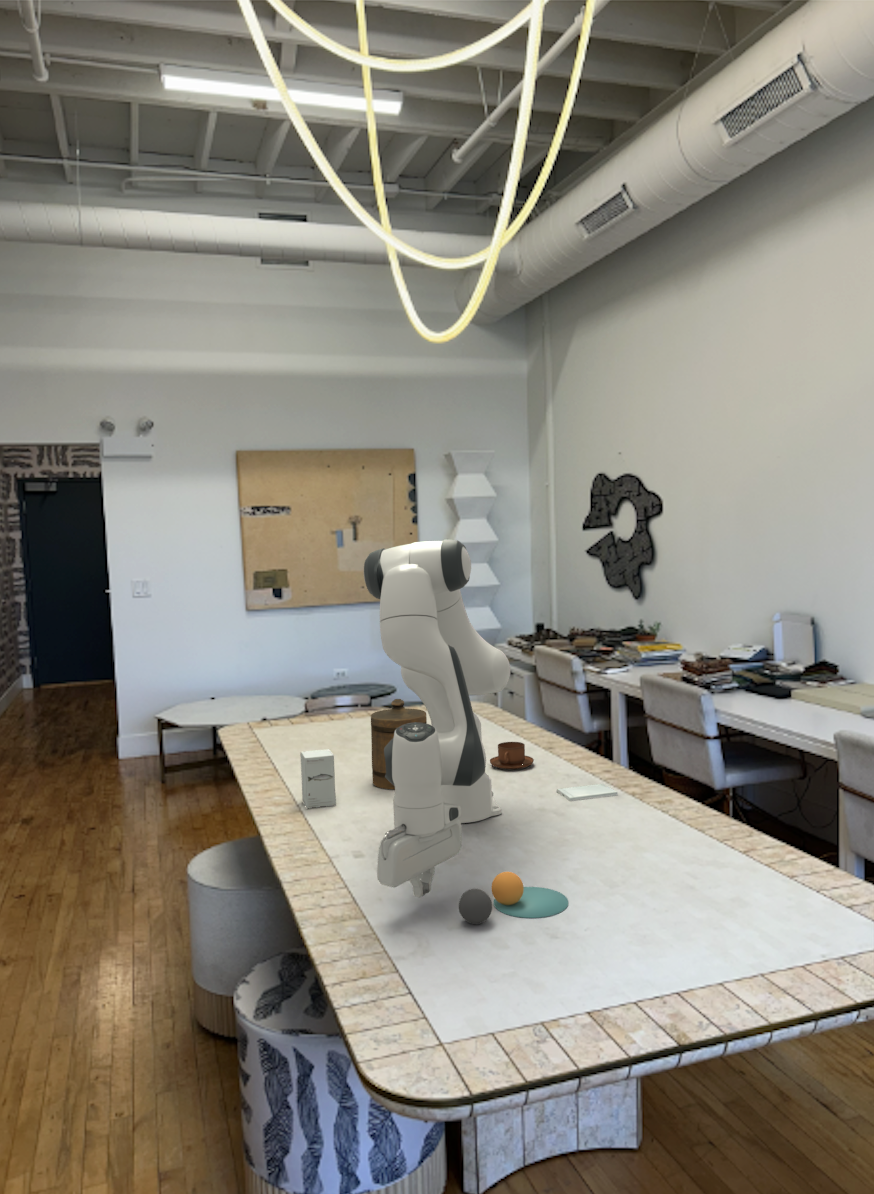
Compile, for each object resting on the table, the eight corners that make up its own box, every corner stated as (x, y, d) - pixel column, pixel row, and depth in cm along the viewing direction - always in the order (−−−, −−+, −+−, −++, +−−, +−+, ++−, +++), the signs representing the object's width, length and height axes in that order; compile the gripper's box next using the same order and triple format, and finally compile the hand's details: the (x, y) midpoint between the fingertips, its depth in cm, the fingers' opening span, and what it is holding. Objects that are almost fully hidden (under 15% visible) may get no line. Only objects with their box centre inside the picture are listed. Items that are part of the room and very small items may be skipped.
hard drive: (602, 782, 230) (556, 788, 227) (617, 791, 222) (569, 797, 219) (603, 789, 230) (556, 794, 227) (617, 798, 222) (569, 803, 219)
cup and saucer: (535, 772, 247) (535, 749, 246) (490, 773, 247) (490, 750, 247) (532, 760, 259) (531, 739, 258) (489, 762, 259) (488, 740, 259)
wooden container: (405, 793, 231) (401, 706, 229) (361, 785, 240) (357, 701, 238) (440, 779, 243) (437, 696, 241) (397, 771, 252) (394, 692, 250)
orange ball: (491, 866, 163) (522, 864, 162) (496, 895, 165) (527, 893, 163) (486, 883, 158) (518, 880, 157) (492, 912, 159) (524, 910, 158)
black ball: (498, 921, 154) (486, 892, 158) (495, 907, 150) (483, 877, 154) (467, 934, 153) (456, 904, 157) (463, 920, 149) (451, 890, 153)
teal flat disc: (494, 888, 168) (494, 887, 168) (566, 887, 167) (566, 886, 167) (492, 918, 155) (492, 917, 155) (570, 918, 154) (570, 916, 154)
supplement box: (306, 809, 220) (303, 757, 219) (302, 801, 227) (299, 750, 226) (336, 806, 222) (334, 754, 221) (331, 797, 229) (329, 747, 228)
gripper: (395, 837, 151) (399, 919, 152) (466, 804, 168) (469, 878, 169) (366, 831, 155) (370, 911, 156) (438, 799, 171) (441, 872, 173)
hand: (422, 894), depth 163 cm, fingers closed
